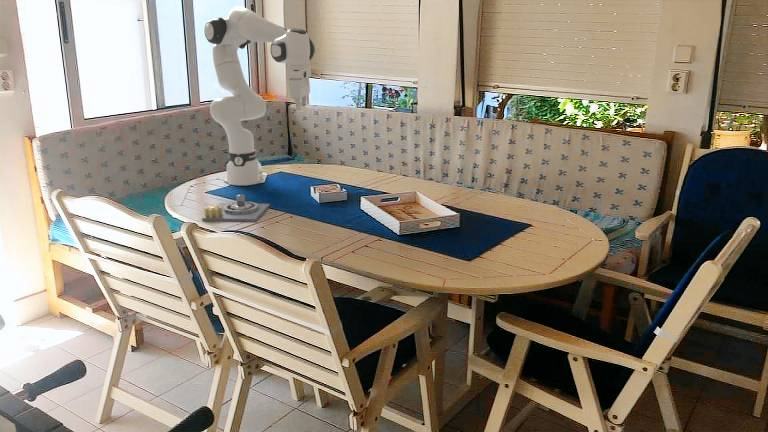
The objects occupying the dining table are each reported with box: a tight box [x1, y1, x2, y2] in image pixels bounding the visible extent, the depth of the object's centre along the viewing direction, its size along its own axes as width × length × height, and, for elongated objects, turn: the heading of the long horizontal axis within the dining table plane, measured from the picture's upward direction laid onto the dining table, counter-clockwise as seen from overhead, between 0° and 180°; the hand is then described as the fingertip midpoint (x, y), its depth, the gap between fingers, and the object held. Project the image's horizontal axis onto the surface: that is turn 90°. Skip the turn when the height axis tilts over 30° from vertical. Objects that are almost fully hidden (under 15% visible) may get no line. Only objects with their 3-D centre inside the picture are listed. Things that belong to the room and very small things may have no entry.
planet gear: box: [230, 193, 252, 210], centre depth 242 cm, size 8×8×6 cm
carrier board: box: [201, 201, 271, 223], centre depth 241 cm, size 20×20×4 cm
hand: (301, 108), depth 249 cm, fingers open, 8 cm apart
